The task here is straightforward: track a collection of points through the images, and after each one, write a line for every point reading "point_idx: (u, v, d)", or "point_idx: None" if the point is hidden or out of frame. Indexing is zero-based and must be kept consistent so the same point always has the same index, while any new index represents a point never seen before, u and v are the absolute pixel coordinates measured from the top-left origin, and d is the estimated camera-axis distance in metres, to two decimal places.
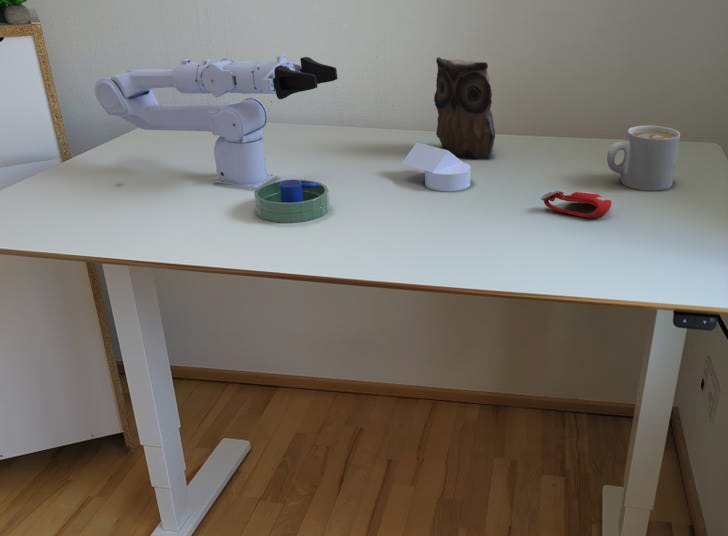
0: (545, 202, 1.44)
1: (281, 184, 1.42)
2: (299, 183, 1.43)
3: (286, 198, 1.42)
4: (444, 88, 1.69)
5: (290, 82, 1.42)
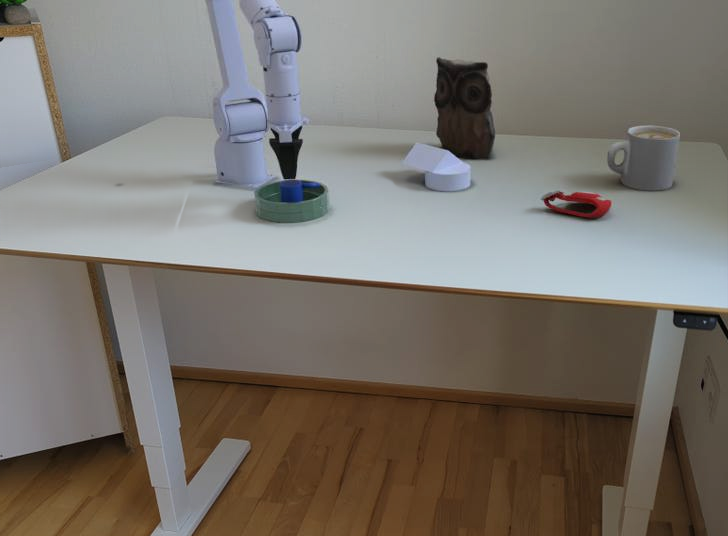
0: (545, 202, 1.44)
1: (281, 184, 1.42)
2: (299, 183, 1.43)
3: (286, 198, 1.42)
4: (444, 88, 1.69)
5: (286, 151, 1.36)
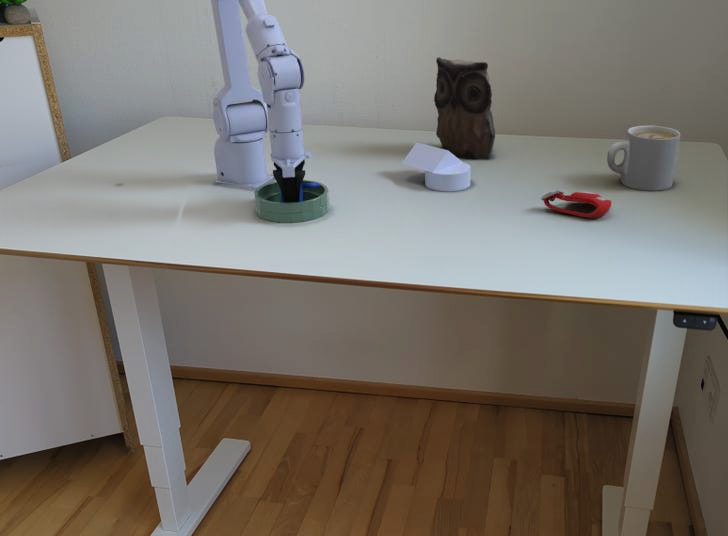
0: (545, 202, 1.44)
1: None
2: None
3: None
4: (444, 88, 1.69)
5: (289, 182, 1.40)
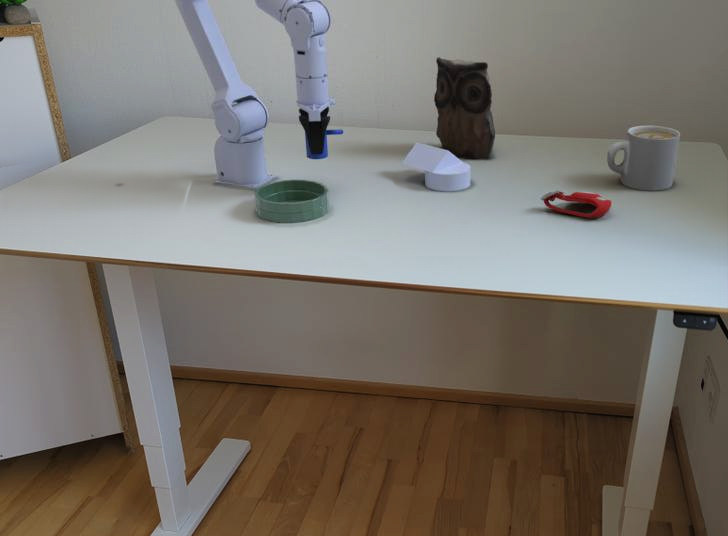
0: (545, 202, 1.44)
1: None
2: None
3: None
4: (444, 88, 1.69)
5: (314, 127, 1.45)
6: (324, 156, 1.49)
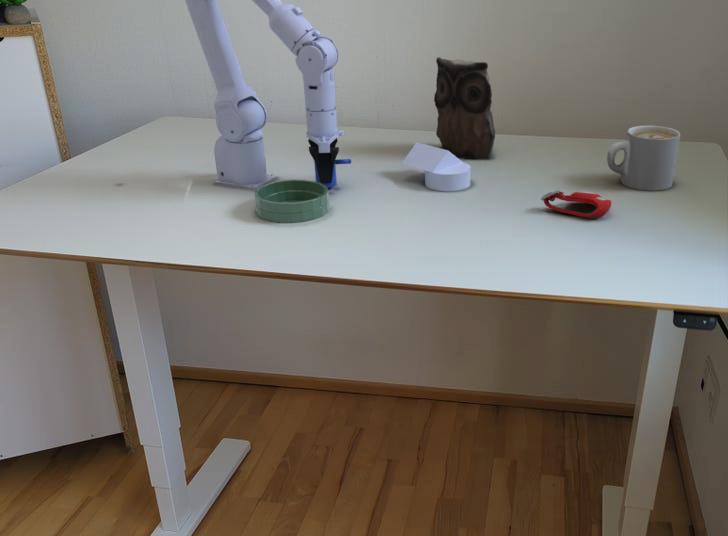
0: (545, 202, 1.44)
1: None
2: None
3: None
4: (444, 88, 1.69)
5: (323, 158, 1.50)
6: (333, 185, 1.54)
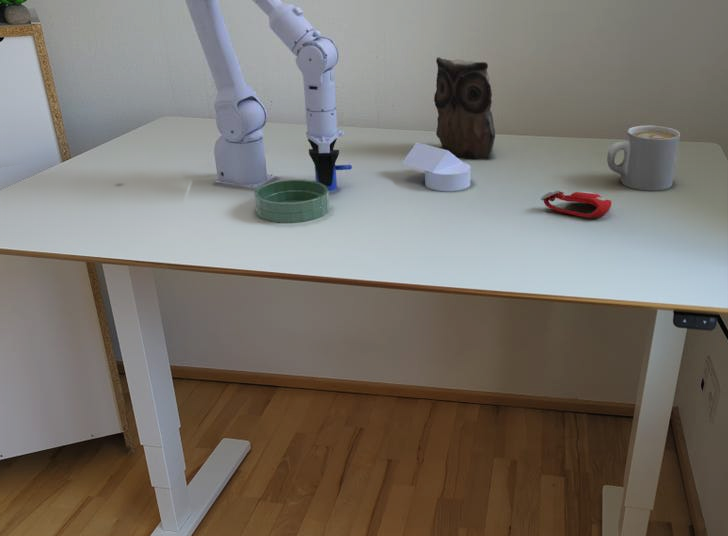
0: (545, 202, 1.44)
1: None
2: None
3: None
4: (444, 88, 1.69)
5: (324, 161, 1.49)
6: None
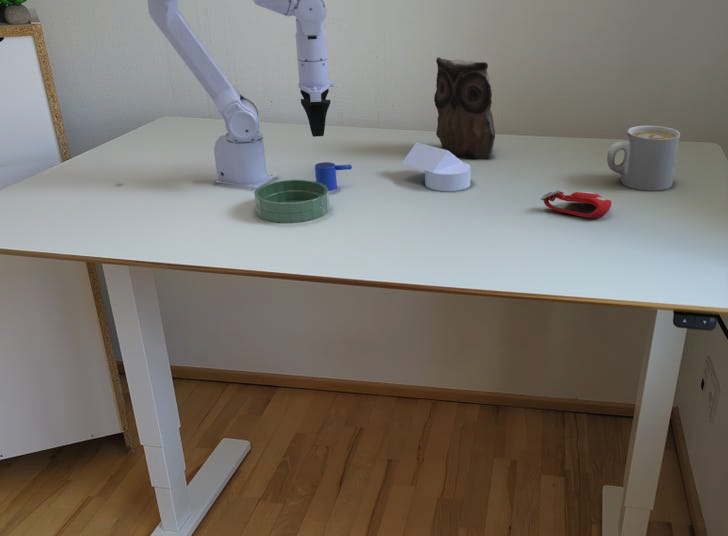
0: (545, 202, 1.44)
1: (316, 166, 1.53)
2: (333, 165, 1.53)
3: (321, 179, 1.53)
4: (444, 88, 1.69)
5: (315, 110, 1.52)
6: None
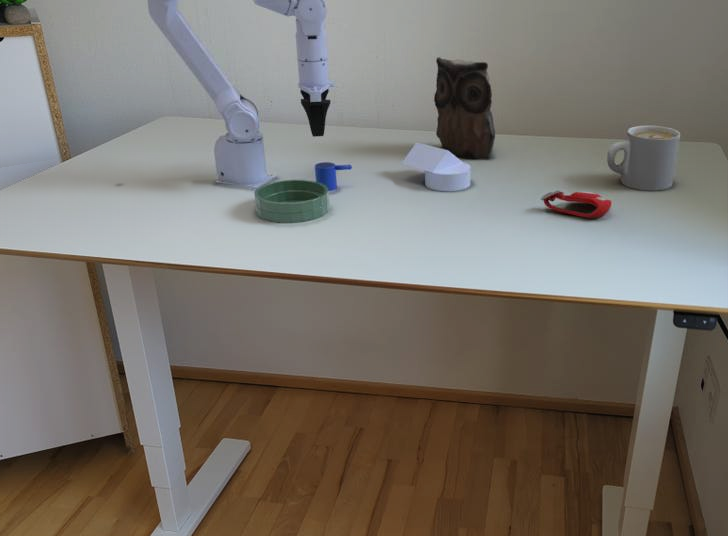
0: (545, 202, 1.44)
1: (316, 166, 1.53)
2: (333, 165, 1.53)
3: (321, 179, 1.53)
4: (444, 88, 1.69)
5: (315, 110, 1.52)
6: None
